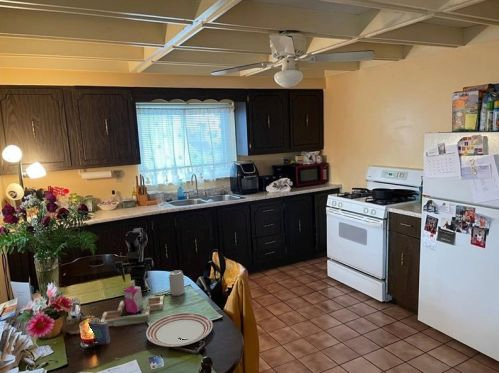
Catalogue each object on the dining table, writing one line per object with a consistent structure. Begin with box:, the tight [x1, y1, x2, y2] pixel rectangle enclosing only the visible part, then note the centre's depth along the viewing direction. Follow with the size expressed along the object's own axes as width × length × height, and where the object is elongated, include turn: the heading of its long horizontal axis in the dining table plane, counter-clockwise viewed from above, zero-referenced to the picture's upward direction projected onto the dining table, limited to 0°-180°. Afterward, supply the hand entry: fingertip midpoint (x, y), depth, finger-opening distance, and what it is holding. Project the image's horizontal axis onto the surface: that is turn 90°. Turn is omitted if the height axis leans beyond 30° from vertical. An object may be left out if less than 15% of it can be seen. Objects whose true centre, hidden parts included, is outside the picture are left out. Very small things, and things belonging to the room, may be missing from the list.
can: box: [168, 269, 186, 297], centre depth 197 cm, size 8×8×12 cm
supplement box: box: [123, 285, 144, 315], centre depth 181 cm, size 6×6×12 cm
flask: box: [87, 317, 111, 345], centre depth 154 cm, size 9×3×11 cm, turn 74°
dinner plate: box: [145, 312, 214, 348], centre depth 157 cm, size 27×27×3 cm
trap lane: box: [100, 295, 165, 327], centre depth 179 cm, size 22×27×3 cm
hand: (133, 280), depth 187 cm, fingers open, 9 cm apart
